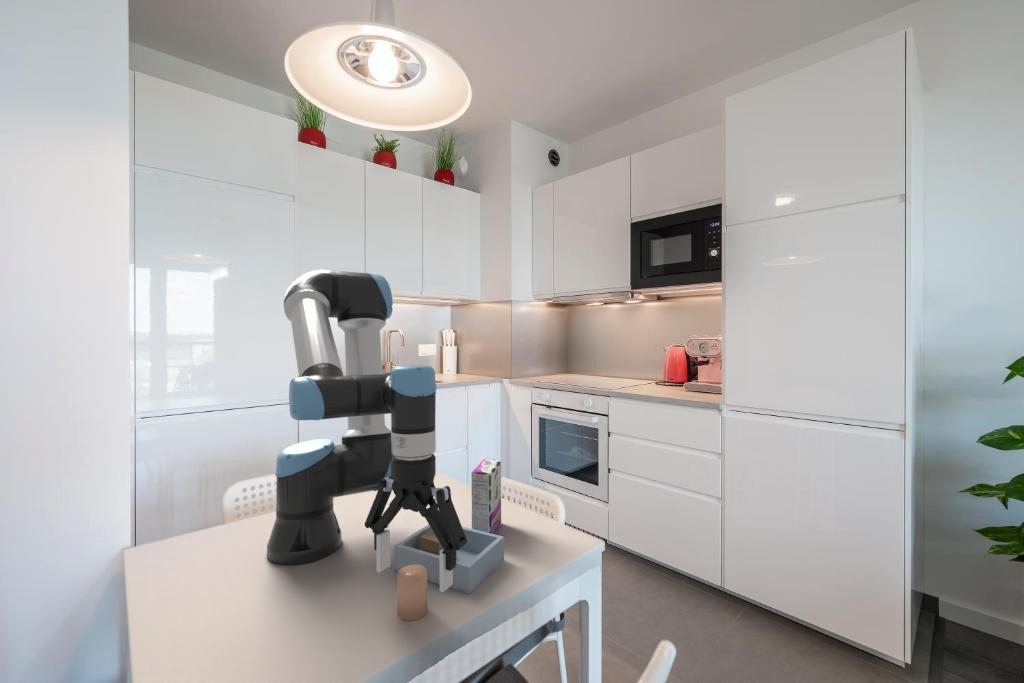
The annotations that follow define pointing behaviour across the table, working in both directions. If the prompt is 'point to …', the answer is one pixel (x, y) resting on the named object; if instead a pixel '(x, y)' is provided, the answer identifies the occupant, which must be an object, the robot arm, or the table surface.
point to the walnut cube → (430, 543)
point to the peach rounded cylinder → (412, 592)
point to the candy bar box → (486, 496)
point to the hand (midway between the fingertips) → (413, 578)
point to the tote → (470, 559)
